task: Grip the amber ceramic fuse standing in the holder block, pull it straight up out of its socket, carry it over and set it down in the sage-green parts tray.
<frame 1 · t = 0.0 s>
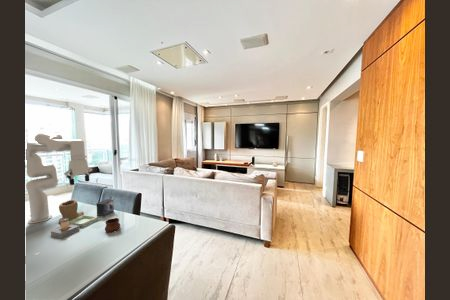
hand: (80, 182, 122), 31 cm above the table, fingers open, 9 cm apart
ceramic pot: (112, 230, 119), on the table
holder block: (65, 233, 116), on the table
stone cup: (72, 220, 135), on the table
small box: (105, 214, 145), on the table
fuse: (65, 226, 116), in the holder block
parts tray: (83, 222, 130), on the table
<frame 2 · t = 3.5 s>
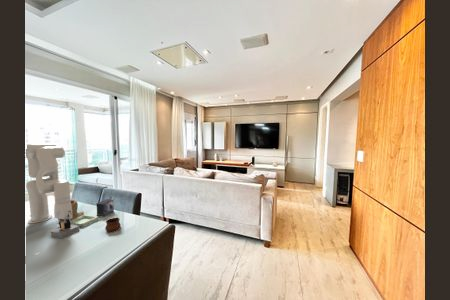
hand: (65, 227, 116), 4 cm above the table, fingers closed on fuse, 3 cm apart
fuse: (65, 226, 116), in the holder block, touching gripper
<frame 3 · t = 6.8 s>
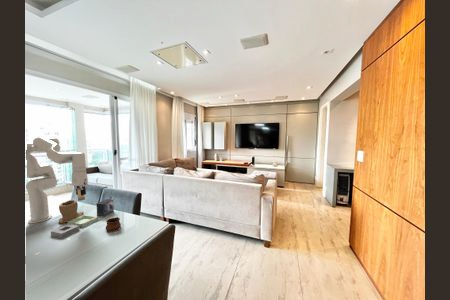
hand: (81, 194, 129), 21 cm above the table, fingers closed on fuse, 3 cm apart
fuse: (81, 193, 129), point 22 cm above the table, touching gripper
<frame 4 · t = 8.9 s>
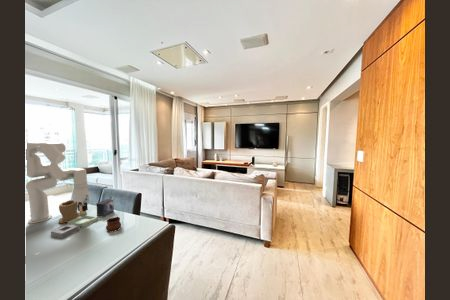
hand: (82, 210, 130), 9 cm above the table, fingers closed on fuse, 3 cm apart
fuse: (82, 209, 130), point 10 cm above the table, touching gripper
when the fingers open (6 cm above the table, at t = 10.4 s): fuse drops 1 cm, resting on parts tray.
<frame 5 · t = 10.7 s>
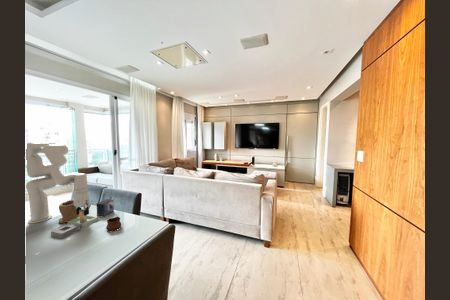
hand: (82, 214, 130), 6 cm above the table, fingers open, 6 cm apart
fuse: (82, 215, 130), in the parts tray, point 5 cm above the table
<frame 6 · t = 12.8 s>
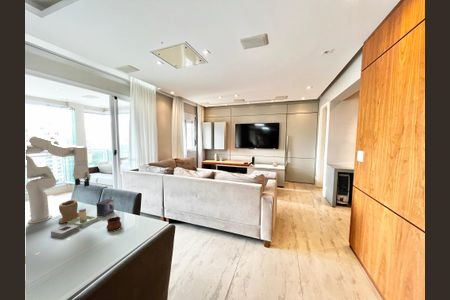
hand: (82, 185, 133), 26 cm above the table, fingers open, 9 cm apart
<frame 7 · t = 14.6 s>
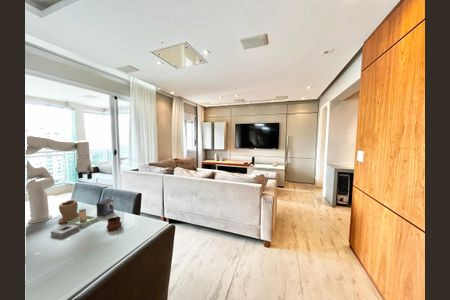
hand: (85, 178, 139), 30 cm above the table, fingers open, 9 cm apart
at the end: fuse inside the target area on the parts tray (0.1 cm from its centre), point 5.1 cm above the parts tray's base; the gripper is holding nothing; fuse touching parts tray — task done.
